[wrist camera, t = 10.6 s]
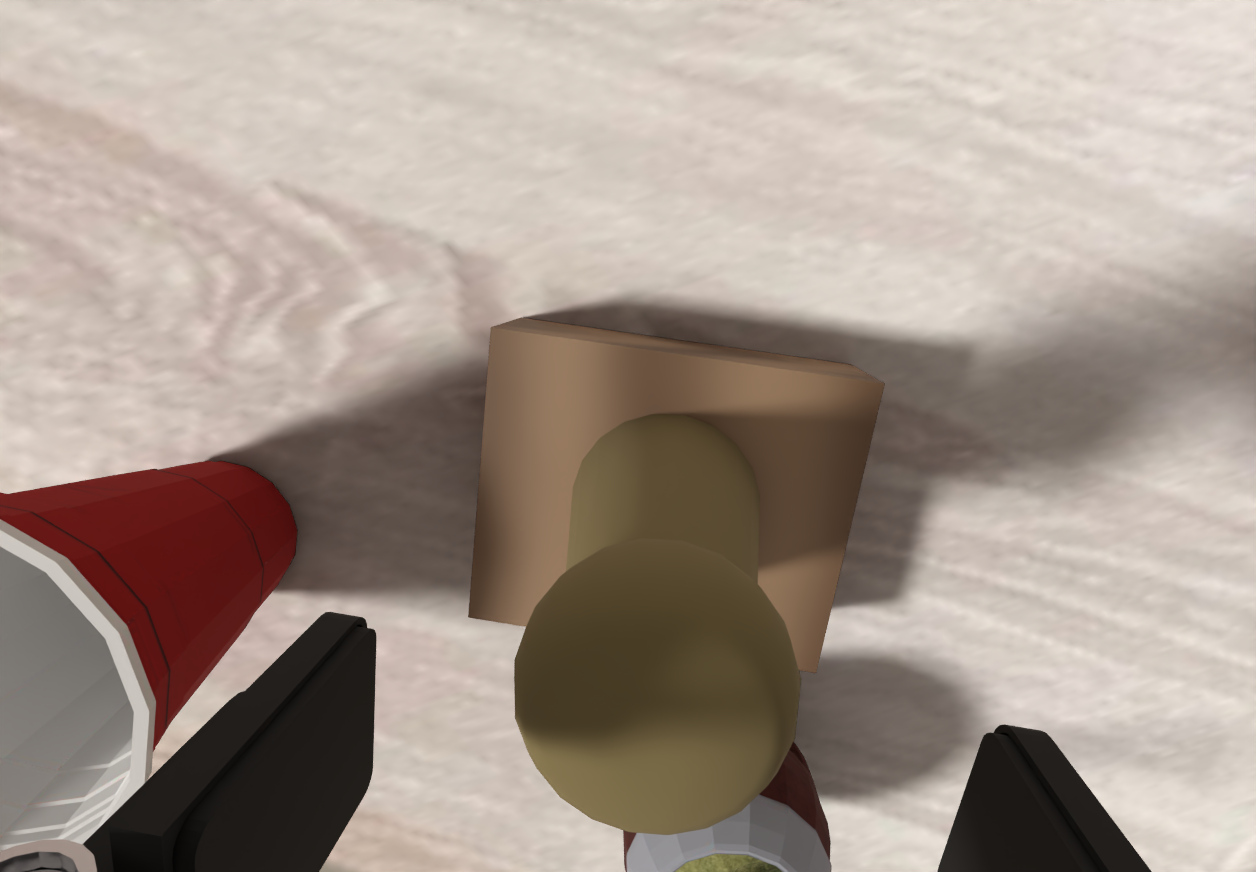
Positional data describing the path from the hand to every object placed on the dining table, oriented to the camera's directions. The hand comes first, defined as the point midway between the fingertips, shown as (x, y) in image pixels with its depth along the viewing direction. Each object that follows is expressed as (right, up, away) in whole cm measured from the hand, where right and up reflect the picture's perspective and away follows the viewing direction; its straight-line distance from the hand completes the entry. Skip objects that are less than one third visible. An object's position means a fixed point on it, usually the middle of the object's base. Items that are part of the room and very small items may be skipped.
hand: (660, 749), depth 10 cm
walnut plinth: (+1, +3, +15) cm, 15 cm away
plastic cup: (-17, +1, +17) cm, 24 cm away
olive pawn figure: (+1, +3, +11) cm, 12 cm away
